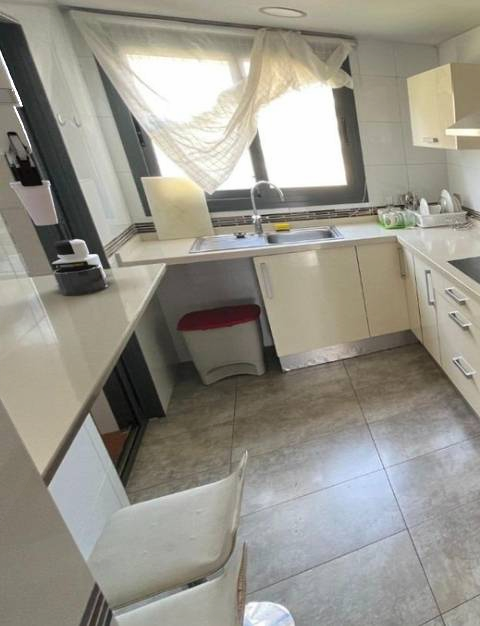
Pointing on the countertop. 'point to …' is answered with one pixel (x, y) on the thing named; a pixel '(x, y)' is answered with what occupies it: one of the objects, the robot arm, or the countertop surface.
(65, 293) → the stand
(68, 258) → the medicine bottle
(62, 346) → the countertop surface
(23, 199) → the smoothie
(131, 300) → the countertop surface
